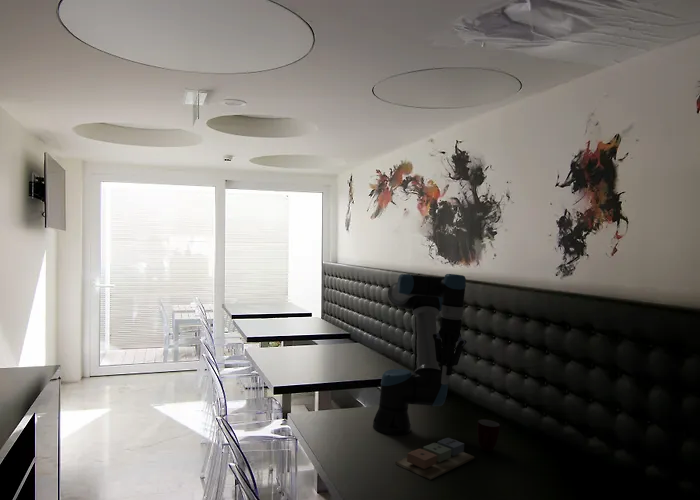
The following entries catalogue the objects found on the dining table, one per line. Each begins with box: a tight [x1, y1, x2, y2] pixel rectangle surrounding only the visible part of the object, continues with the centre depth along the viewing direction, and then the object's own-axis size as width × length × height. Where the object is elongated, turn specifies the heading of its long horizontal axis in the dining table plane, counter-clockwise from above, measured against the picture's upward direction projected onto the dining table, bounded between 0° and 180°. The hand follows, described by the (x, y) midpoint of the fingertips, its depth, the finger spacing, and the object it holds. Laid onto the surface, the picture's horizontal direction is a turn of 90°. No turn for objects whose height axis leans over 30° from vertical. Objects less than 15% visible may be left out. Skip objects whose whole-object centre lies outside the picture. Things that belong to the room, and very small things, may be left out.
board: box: [395, 451, 475, 481], centre depth 173 cm, size 14×28×3 cm, turn 137°
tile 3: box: [437, 436, 465, 456], centre depth 180 cm, size 7×7×3 cm
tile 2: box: [422, 442, 451, 462], centre depth 173 cm, size 7×7×3 cm
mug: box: [476, 418, 501, 452], centre depth 187 cm, size 10×8×10 cm
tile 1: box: [406, 448, 437, 469], centre depth 166 cm, size 7×7×3 cm
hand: (444, 383), depth 178 cm, fingers closed
